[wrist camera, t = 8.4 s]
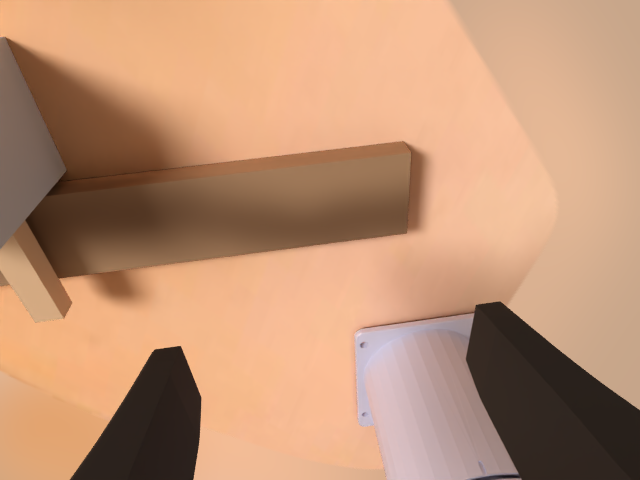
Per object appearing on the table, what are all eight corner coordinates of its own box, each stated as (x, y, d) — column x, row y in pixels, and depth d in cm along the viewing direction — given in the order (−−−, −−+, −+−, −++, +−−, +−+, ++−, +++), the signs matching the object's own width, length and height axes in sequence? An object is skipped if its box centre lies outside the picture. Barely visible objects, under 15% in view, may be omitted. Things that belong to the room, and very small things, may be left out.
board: (400, 219, 21) (407, 234, 20) (-72, 279, 19) (-90, 298, 18) (403, 141, 18) (411, 153, 17) (-132, 204, 17) (-157, 221, 16)
